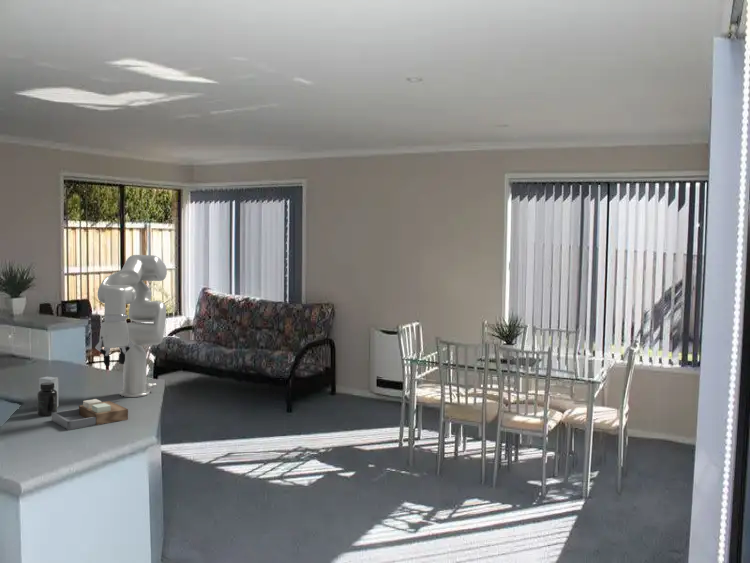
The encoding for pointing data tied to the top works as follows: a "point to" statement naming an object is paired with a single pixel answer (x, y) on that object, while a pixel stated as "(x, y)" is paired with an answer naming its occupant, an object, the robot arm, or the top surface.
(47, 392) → the supplement bottle
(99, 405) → the tile sage
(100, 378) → the top surface
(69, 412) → the box
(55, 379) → the skincare box
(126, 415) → the board
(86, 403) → the tile cream
